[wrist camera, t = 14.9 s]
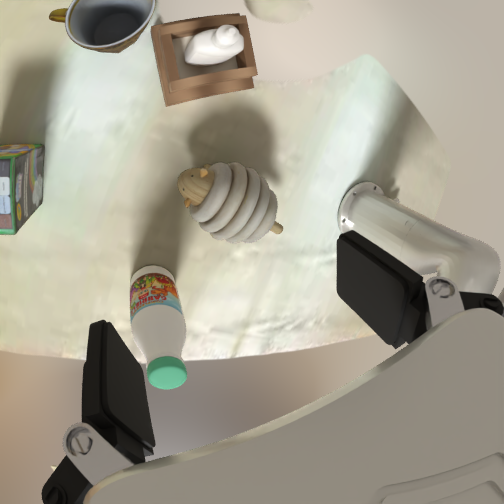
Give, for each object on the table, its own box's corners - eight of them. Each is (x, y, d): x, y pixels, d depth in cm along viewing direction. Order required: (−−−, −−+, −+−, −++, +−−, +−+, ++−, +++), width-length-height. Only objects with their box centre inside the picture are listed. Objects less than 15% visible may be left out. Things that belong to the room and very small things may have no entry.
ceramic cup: (160, 7, 25) (167, -23, 17) (141, 67, 29) (140, 51, 21) (76, 4, 20) (60, -23, 12) (55, 64, 24) (30, 51, 16)
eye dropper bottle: (216, 77, 31) (247, 61, 22) (178, 60, 29) (194, 36, 19) (231, 51, 30) (267, 28, 20) (194, 34, 27) (216, 2, 18)
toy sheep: (189, 138, 37) (205, 146, 28) (282, 184, 45) (320, 205, 36) (158, 204, 39) (164, 234, 30) (253, 239, 48) (282, 272, 39)
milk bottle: (184, 284, 47) (214, 375, 30) (151, 310, 47) (167, 404, 30) (154, 254, 43) (169, 345, 26) (120, 283, 42) (120, 380, 26)
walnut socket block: (233, 18, 30) (248, 5, 25) (247, 89, 36) (264, 85, 31) (150, 31, 27) (152, 17, 22) (166, 106, 33) (169, 104, 28)
